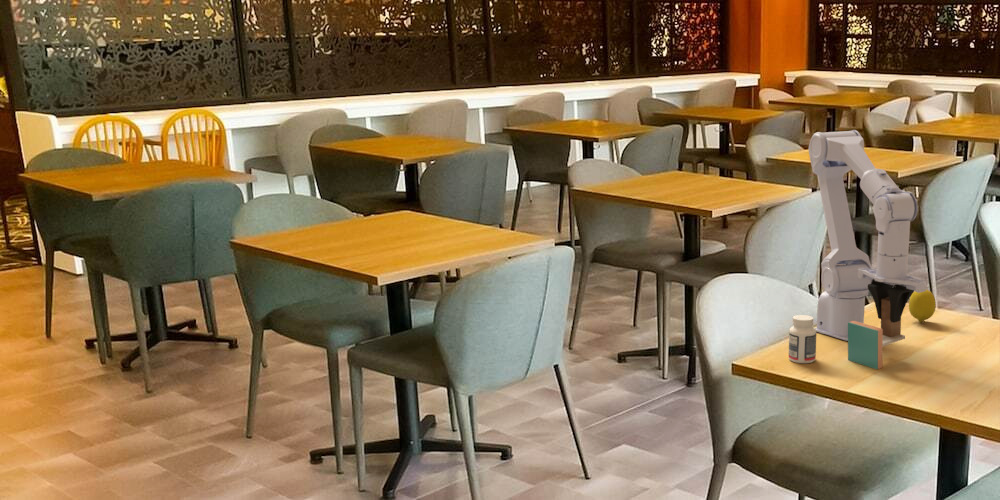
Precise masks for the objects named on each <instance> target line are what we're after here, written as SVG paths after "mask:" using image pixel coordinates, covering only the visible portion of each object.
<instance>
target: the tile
mask: <svg viewBox="0 0 1000 500" xmlns="http://www.w3.org/2000/svg"><path fill="white" fill-rule="evenodd" d="M882 345H883V329H881V327H878V326H873V325H870V324H867V323H865V322H864V323H860V322H857V321H851V322H848V341H847V361H850V362H853V363H856V364H859V365H862V366H866V367H869V368H872V369H875V370H879V369H881V368H883V347H882Z"/></svg>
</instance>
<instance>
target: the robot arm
mask: <svg viewBox="0 0 1000 500" xmlns="http://www.w3.org/2000/svg"><path fill="white" fill-rule="evenodd" d="M808 154H809V156H808V157H809V161H810V165H811V169H812V173H813V174H814V175H816V176H817V182H818V187H819V192H820V198H821V202H822V208H823V213H824V217H825V219H824V220H825V224H826V230H827V236H828V239H829V245H830V250H831V251H830V252H829V254H827V255H826V256H825V257H824V258H823V260H822V262H821V263H820V264H821V279H820V280H821V284H822V287H823V290H824V291H823V292H822V293H821V294H820V295H819V298H818V300H817V310H816V327H814V328H815V329H816V333H820V334H824V335H827V336H829V337H832V338H836V339H840V340H843V341H846V342H848V322H851V321H857V322H860V323H864V324H865V304H866V303H865V301H866V297H867V296H869V292H870V294H871V297H872V299H873V301H874V302H873V303H874V306H875V309H876V313H877V314H876V315H877V319H878V320H881V299H884V298H887V297H889V299H890V321H891V322H893V323H894V322H898V321H900V319H901V320H902V316H903V312H904V309H905V307H906V305H907V304H908V302H909V300H910V297H911V295H912V294H913V292H914V291H915V292H918V293H920V292H924V291H926V289H927V281H925V280H922V279H919V278H917V277H914V276H912V275H909V274H908V267H909V266H908V265H909V248H910V233H911V232H910V230H911V222H913V221H914V220H915V219H916V218H917V215H918V211H919V207H918V206H919V205H918V200H917V199H916V196H914V193H913V192H912V191H905V190H904V189H901V188H899V186H898V185H897V184H896V183H895V181H893V179H892V178H891V176H889V174H888V172H887V171H886V170H885V169H881V168H876V167H875V165H874V164H873V162H872V161H871V159H870V158H869V156H868V154H867V153H866V151H865V141H864V138H863V137H862V135H861V134H860V132H859V131H858V130H856V129H852V130H847V131H846V130H845V131H828V132H826V131H825V132H821V131H817V132H815V133H813V134H812V136H811V138H810V141H809V145H808ZM850 171H853V173H854V174H855V175H856V176H857V177H858V178H859V179H860V182H859V187H860V190H862V192H863V193H864V194H865V196H866V197H867V198H868V200H869V201H870V202H871V204H872V205H873V206H872V207H873V208H872V209H873V215H874V218H875V228H876V231H878V234H877V235H878V236H877V237H878V238H877V251H876V252H877V254H876V268H874V267H873V266H872V264H871V261H870V257H869V255H868V254H867V253H866V252H864V251H862V250H861V249H859V248H858V247H857V244H856V239H855V234H854V229H853V224H852V219H851V212H850V208H849V203H848V197H847V192H846V187H845V183H844V177H845V174H847V173H848V172H850Z"/></svg>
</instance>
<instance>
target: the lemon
mask: <svg viewBox="0 0 1000 500" xmlns="http://www.w3.org/2000/svg"><path fill="white" fill-rule="evenodd" d="M936 303H937V302H936V298H935V296H934V294H933V292H932V291H930V290H928V289H927V288H926V291H924V292H920V293H918V292H915V290H914V292H913V294H912V295H911V296H910V298H909V299H908V310H909V313H910V315H911V316H912V317H913V318H914V319H916V320H917V321H918V322H919V323H924V321H925V320H928V319H931V317H933V315H934V313H935V311H936V308H937V307H936V305H937V304H936Z"/></svg>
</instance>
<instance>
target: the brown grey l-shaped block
mask: <svg viewBox="0 0 1000 500" xmlns="http://www.w3.org/2000/svg"><path fill="white" fill-rule="evenodd" d="M901 326H902V318H901V319H900V321H898V322H894V323H893V322H891V321H890V299H889V297H887V298H884V299H881V319H880V328H881V329H883V345H882V348H883V347H885V346H888V345H892V344H893V343H896V342H899V341H902V340H905V339H906V335H904V334H901V329H902V327H901Z"/></svg>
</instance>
